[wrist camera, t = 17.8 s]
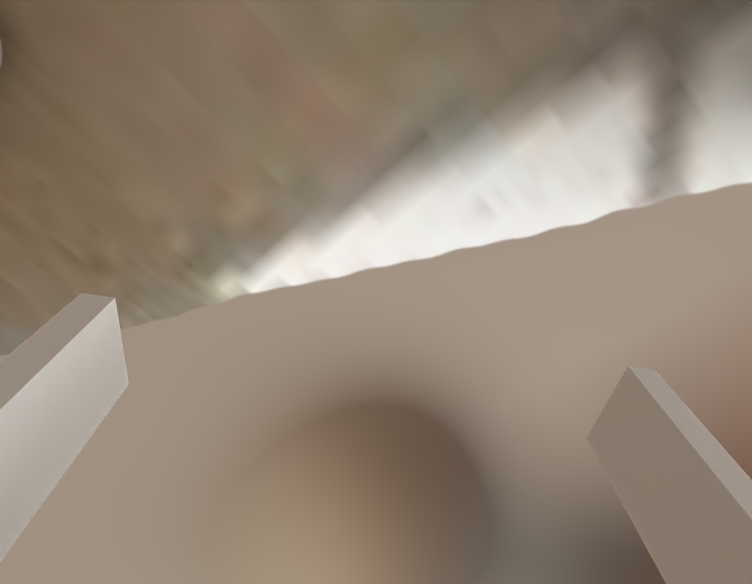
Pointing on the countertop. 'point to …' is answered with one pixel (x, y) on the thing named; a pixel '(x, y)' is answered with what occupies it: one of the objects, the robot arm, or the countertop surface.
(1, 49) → the teacup
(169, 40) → the countertop surface
